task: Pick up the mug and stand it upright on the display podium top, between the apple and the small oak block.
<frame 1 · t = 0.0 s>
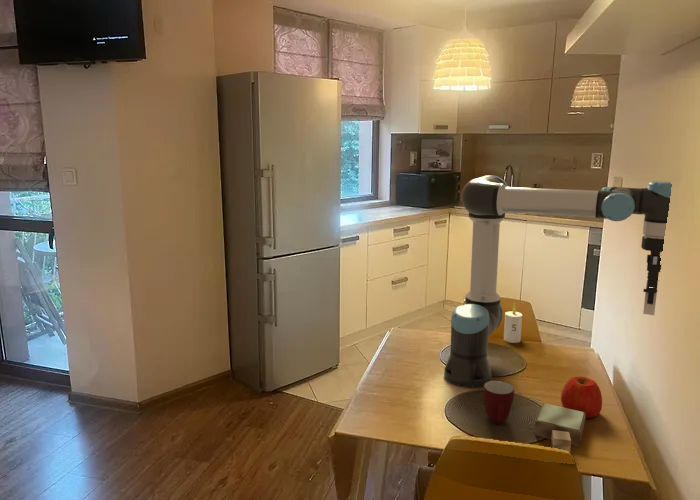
hand: (649, 307, 155), 28 cm above the table, fingers open, 13 cm apart
podium: (559, 430, 142), on the table
mug: (498, 423, 147), on the table
oak block: (560, 449, 134), on the table
candle: (512, 340, 205), on the table
apple: (580, 412, 152), on the table
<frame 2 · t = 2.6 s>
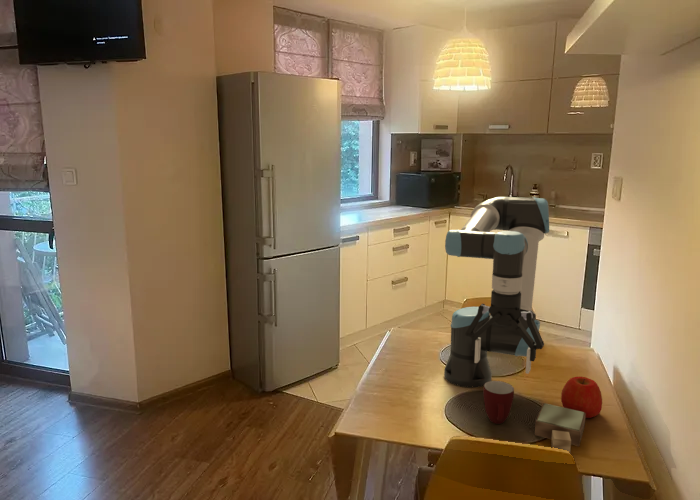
hand: (502, 366, 143), 17 cm above the table, fingers open, 13 cm apart
nothing on the table moved.
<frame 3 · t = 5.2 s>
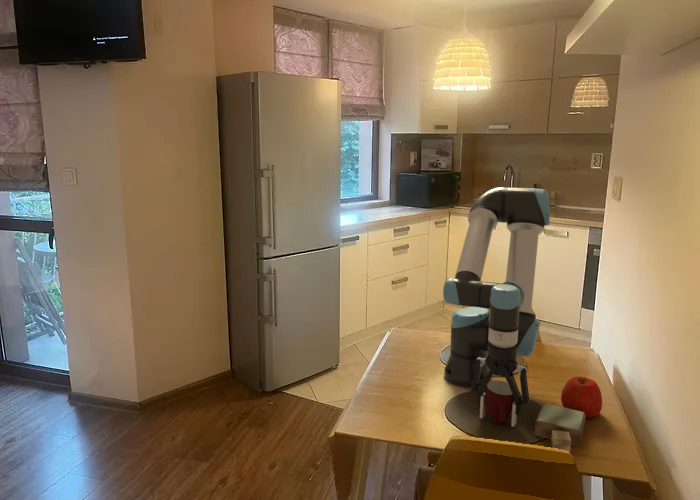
hand: (497, 420, 146), 1 cm above the table, fingers closed on mug, 8 cm apart
mug: (498, 422, 147), on the table, touching gripper
everything else where it was.
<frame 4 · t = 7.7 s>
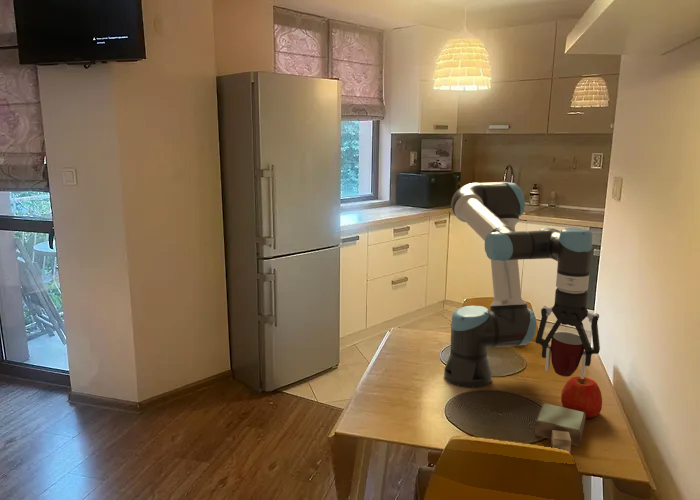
hand: (564, 372, 139), 17 cm above the table, fingers closed on mug, 8 cm apart
mug: (564, 376, 139), point 16 cm above the table, touching gripper
everything else where it was.
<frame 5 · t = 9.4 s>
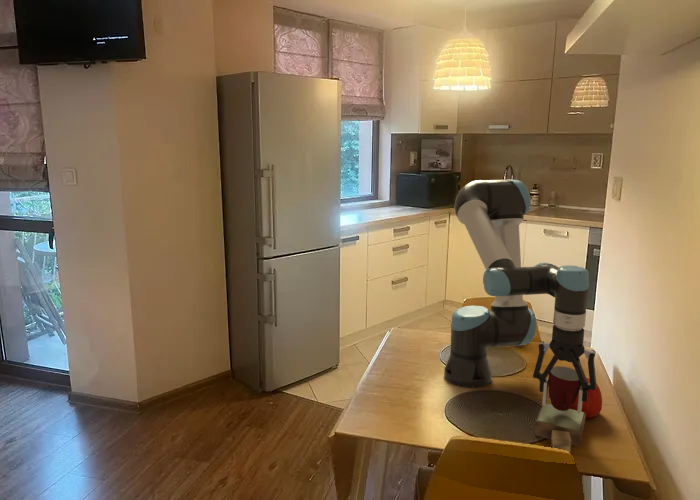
hand: (561, 407, 141), 7 cm above the table, fingers closed on mug, 8 cm apart
mug: (561, 410, 141), point 6 cm above the table, touching gripper
everything else where it was.
when the fingers open (7 cm above the table, at t = 10.3 s): mug drops 1 cm, resting on podium.
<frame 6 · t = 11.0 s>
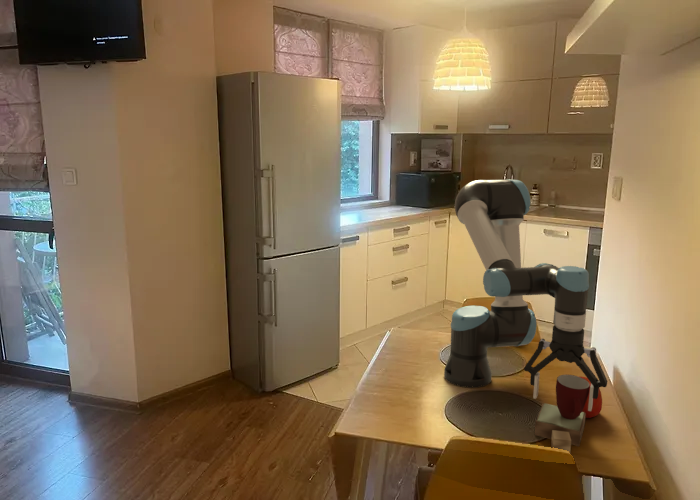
hand: (562, 402, 141), 8 cm above the table, fingers open, 13 cm apart
mug: (570, 418, 140), point 4 cm above the table, touching podium
everything else where it was.
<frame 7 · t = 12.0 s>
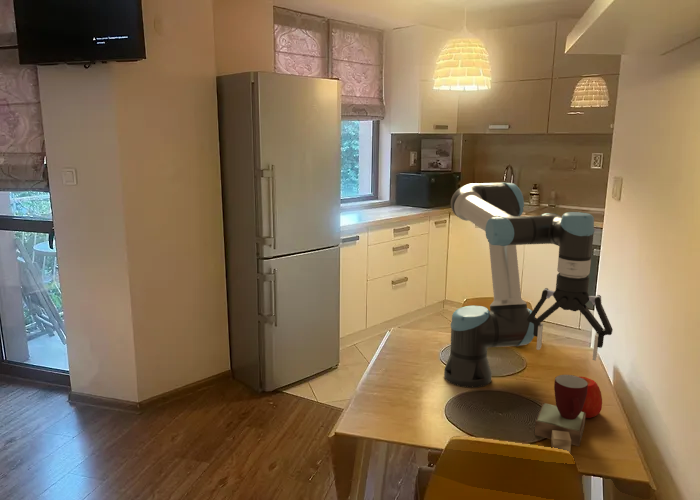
hand: (566, 353, 138), 22 cm above the table, fingers open, 13 cm apart
nothing on the table moved.
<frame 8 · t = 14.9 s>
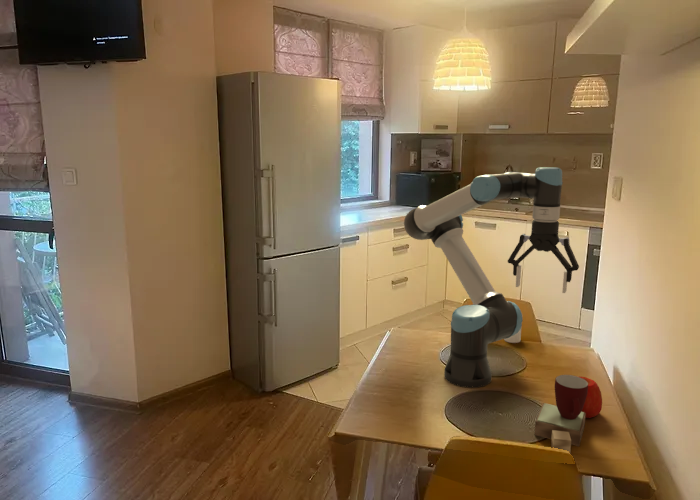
hand: (540, 289, 162), 32 cm above the table, fingers open, 13 cm apart
nothing on the table moved.
at the end: mug inside the target area on the podium (2.3 cm from its centre), point 4.1 cm above the podium's base; mug tilted 0°; the gripper is holding nothing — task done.
